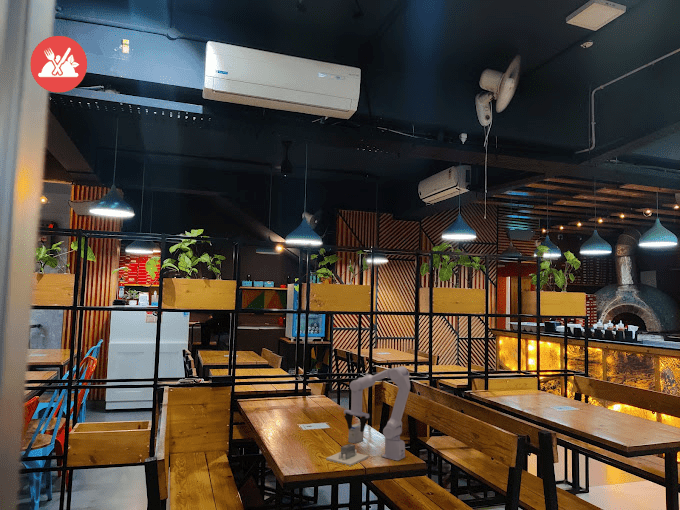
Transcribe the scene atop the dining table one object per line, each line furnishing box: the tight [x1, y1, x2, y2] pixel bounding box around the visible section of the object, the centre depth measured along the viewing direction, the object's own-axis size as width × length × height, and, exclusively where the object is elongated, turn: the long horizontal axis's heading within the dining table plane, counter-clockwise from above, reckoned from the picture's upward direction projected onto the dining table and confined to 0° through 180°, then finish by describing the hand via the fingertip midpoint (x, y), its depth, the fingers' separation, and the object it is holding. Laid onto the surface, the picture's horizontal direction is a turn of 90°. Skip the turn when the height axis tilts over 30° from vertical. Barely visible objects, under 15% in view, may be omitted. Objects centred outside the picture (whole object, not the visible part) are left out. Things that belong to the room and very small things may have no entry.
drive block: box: [340, 443, 356, 459], centre depth 242 cm, size 4×7×5 cm, turn 145°
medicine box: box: [348, 423, 365, 445], centre depth 272 cm, size 8×4×9 cm, turn 141°
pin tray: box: [325, 448, 370, 467], centre depth 242 cm, size 14×16×4 cm
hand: (356, 430), depth 259 cm, fingers open, 7 cm apart
